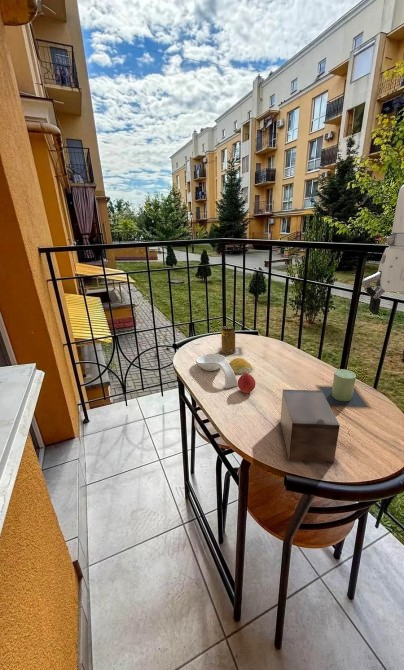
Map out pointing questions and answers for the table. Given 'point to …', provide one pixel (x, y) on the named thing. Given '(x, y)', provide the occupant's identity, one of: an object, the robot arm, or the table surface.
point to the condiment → (228, 340)
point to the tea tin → (343, 385)
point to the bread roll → (240, 365)
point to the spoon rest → (216, 362)
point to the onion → (246, 383)
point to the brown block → (308, 426)
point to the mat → (332, 401)
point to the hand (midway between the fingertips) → (394, 312)
